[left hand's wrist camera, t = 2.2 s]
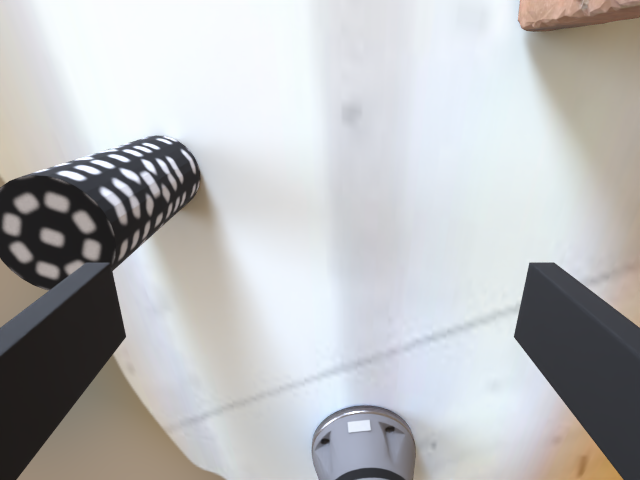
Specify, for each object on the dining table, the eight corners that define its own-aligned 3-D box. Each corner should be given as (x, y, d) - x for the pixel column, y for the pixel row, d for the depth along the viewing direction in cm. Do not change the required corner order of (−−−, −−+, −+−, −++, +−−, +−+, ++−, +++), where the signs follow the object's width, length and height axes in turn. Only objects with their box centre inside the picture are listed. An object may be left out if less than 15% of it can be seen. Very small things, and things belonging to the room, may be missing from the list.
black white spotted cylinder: (208, 151, 44) (126, 201, 25) (190, 218, 47) (105, 307, 28) (133, 124, 43) (-10, 155, 24) (119, 194, 46) (-18, 270, 27)
